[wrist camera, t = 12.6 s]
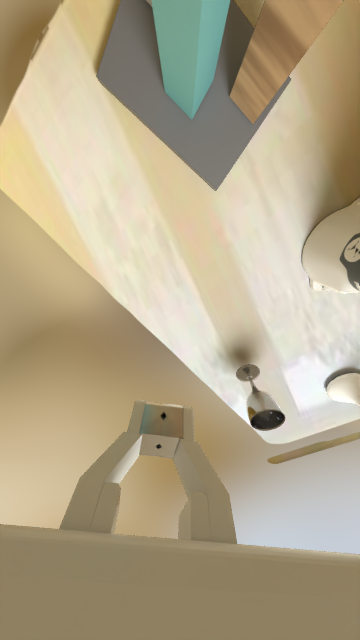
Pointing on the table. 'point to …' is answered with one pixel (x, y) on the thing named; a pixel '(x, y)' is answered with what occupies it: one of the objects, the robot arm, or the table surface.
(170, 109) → the board
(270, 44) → the walnut post
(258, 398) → the wine glass
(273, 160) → the table surface
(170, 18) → the teal post
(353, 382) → the flower in vase
